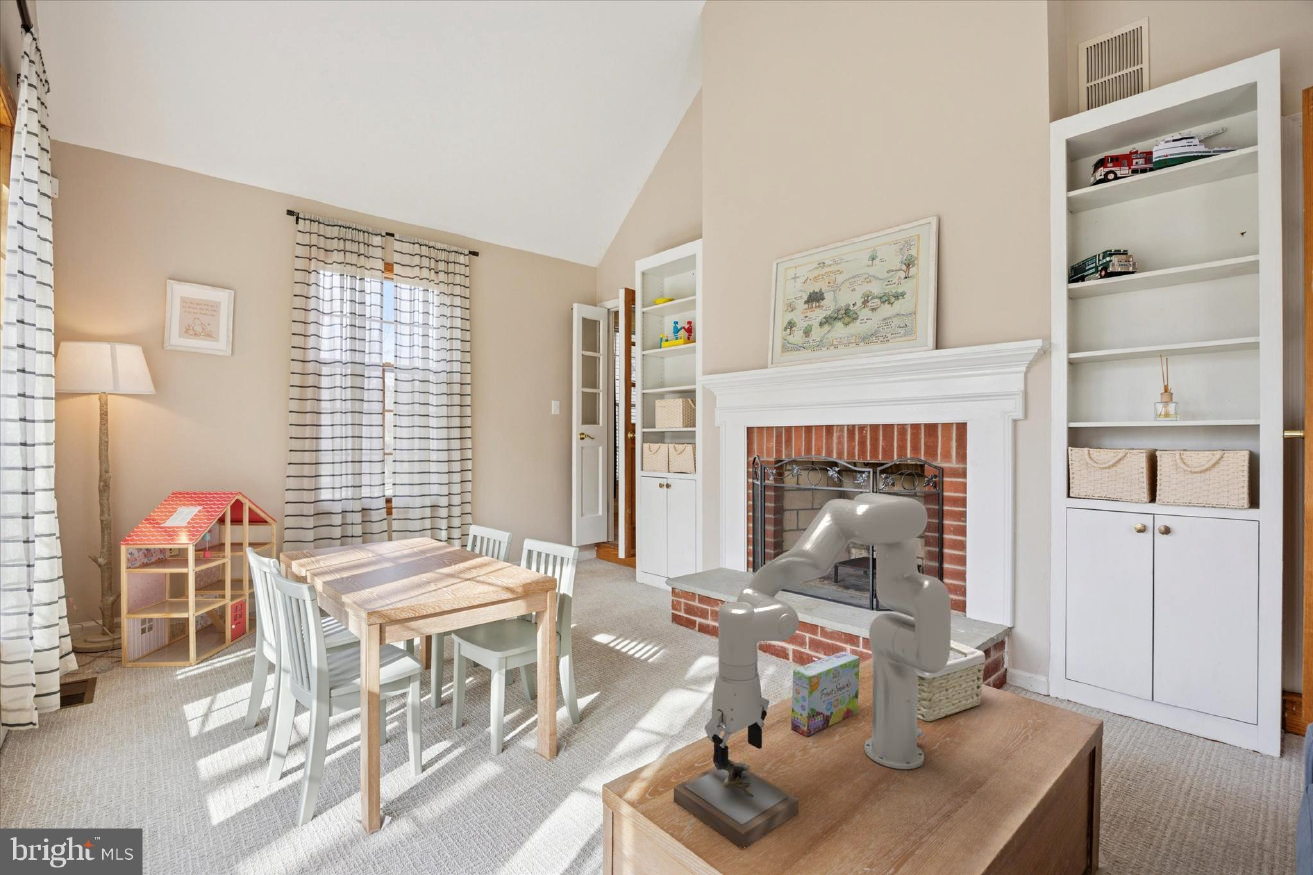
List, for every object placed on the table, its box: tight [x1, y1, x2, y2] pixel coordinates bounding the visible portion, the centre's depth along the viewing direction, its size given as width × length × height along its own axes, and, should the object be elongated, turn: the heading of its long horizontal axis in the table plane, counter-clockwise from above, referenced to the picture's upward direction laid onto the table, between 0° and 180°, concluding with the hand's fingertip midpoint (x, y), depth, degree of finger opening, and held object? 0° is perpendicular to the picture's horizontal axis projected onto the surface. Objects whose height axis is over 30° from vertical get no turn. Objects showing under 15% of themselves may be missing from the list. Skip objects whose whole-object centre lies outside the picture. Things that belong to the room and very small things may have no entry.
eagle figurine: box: [712, 753, 753, 797], centre depth 122 cm, size 8×7×9 cm
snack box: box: [790, 651, 861, 737], centre depth 155 cm, size 21×6×15 cm, turn 129°
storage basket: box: [915, 639, 986, 722], centre depth 166 cm, size 24×16×15 cm
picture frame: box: [673, 758, 800, 850], centre depth 120 cm, size 16×18×3 cm
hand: (738, 754), depth 120 cm, fingers open, 9 cm apart
